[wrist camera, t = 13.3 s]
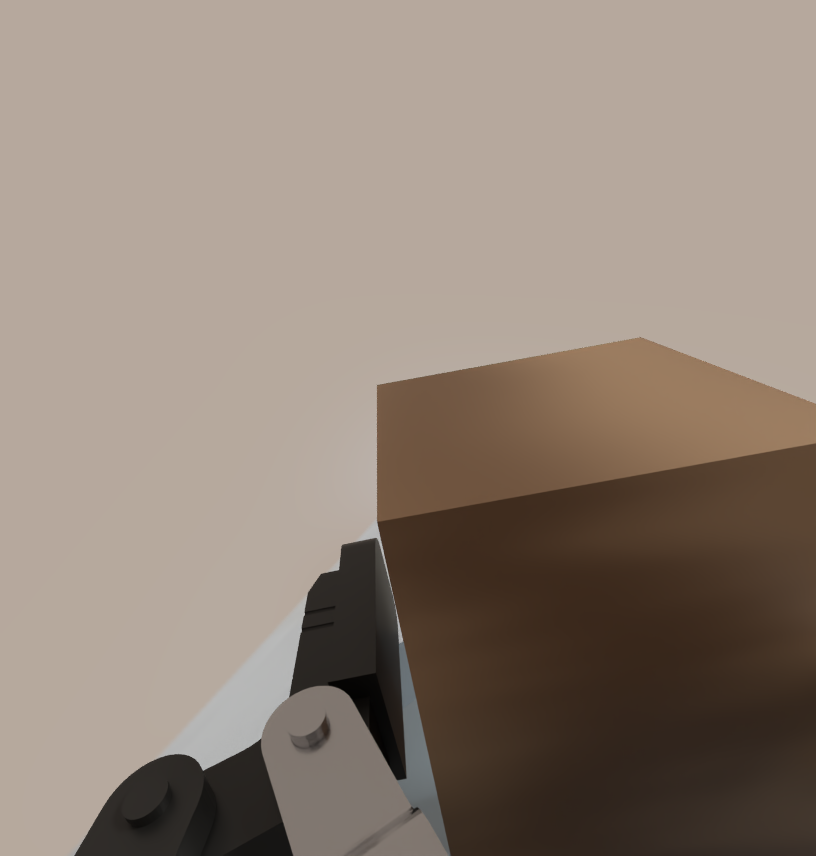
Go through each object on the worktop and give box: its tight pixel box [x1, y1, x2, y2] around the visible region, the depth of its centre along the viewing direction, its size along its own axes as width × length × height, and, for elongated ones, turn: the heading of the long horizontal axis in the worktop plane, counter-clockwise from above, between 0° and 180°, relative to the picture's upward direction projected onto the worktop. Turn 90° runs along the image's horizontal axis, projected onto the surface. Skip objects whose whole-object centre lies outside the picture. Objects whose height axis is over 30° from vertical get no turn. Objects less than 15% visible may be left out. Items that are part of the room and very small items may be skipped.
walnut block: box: [377, 337, 816, 856], centre depth 9 cm, size 5×5×11 cm
